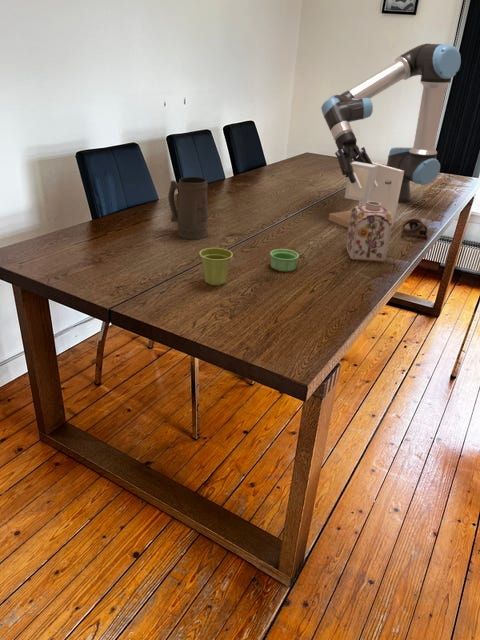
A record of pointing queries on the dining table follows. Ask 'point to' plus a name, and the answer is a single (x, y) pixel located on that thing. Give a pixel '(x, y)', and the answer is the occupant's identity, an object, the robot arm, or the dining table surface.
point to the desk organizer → (378, 193)
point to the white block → (362, 182)
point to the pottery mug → (414, 228)
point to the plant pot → (215, 264)
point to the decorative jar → (369, 232)
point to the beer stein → (190, 207)
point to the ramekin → (284, 259)
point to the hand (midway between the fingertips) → (366, 188)
